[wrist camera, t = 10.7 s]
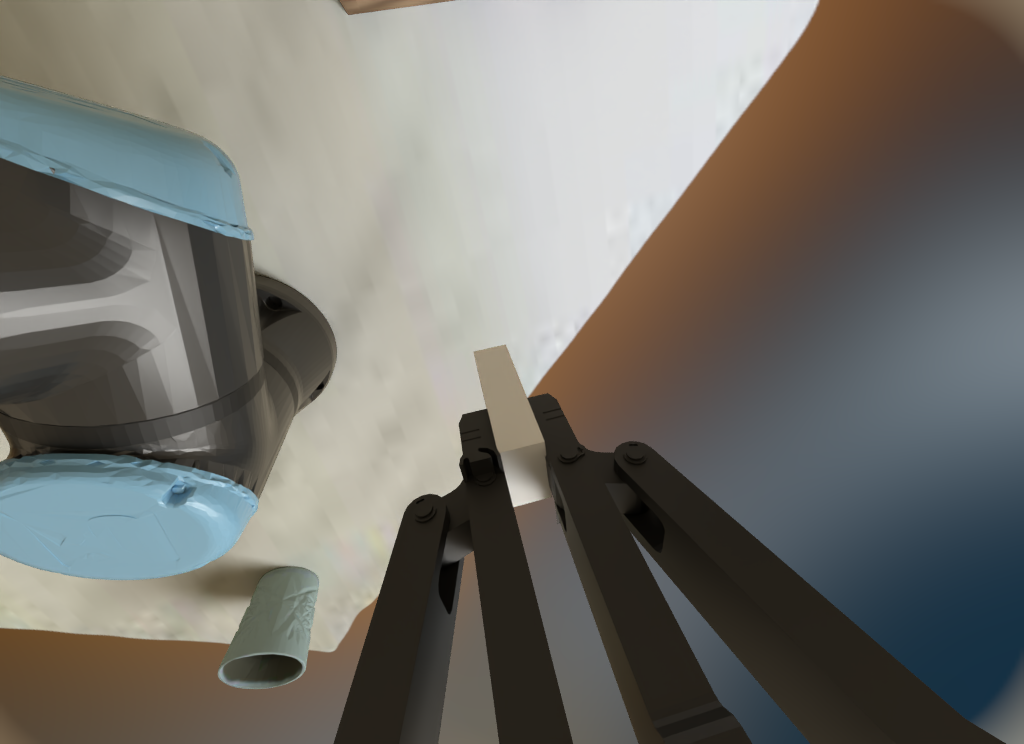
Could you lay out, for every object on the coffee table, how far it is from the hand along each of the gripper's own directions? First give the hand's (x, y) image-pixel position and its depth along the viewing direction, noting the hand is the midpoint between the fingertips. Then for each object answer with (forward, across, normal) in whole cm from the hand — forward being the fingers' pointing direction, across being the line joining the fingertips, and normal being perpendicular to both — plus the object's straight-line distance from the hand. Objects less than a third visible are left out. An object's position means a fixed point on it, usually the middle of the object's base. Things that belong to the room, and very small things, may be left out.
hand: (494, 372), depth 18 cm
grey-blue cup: (+25, +37, +46) cm, 64 cm away
